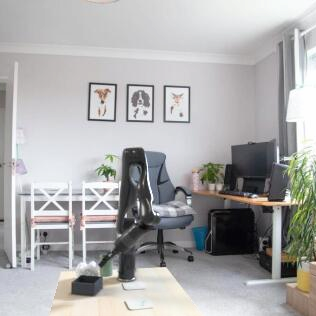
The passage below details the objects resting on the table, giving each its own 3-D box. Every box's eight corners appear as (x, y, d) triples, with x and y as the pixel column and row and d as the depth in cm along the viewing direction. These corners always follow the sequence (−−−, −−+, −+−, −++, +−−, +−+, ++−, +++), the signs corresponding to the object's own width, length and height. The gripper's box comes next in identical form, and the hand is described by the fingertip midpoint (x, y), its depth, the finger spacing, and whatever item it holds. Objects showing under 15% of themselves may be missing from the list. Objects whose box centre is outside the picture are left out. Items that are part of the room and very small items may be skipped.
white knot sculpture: (78, 275, 191) (78, 259, 191) (100, 275, 192) (100, 259, 192) (74, 282, 180) (75, 265, 180) (98, 282, 181) (98, 265, 181)
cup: (102, 272, 166) (102, 253, 166) (114, 273, 165) (114, 254, 165) (97, 276, 160) (98, 256, 160) (110, 277, 159) (110, 257, 159)
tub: (80, 285, 176) (81, 274, 176) (102, 287, 174) (102, 276, 174) (71, 294, 164) (71, 282, 165) (94, 296, 162) (94, 284, 163)
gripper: (127, 231, 167) (104, 254, 171) (115, 238, 154) (90, 262, 157) (137, 243, 166) (114, 266, 169) (126, 251, 152) (101, 275, 156)
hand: (102, 264), depth 163 cm, fingers closed on cup, 6 cm apart
